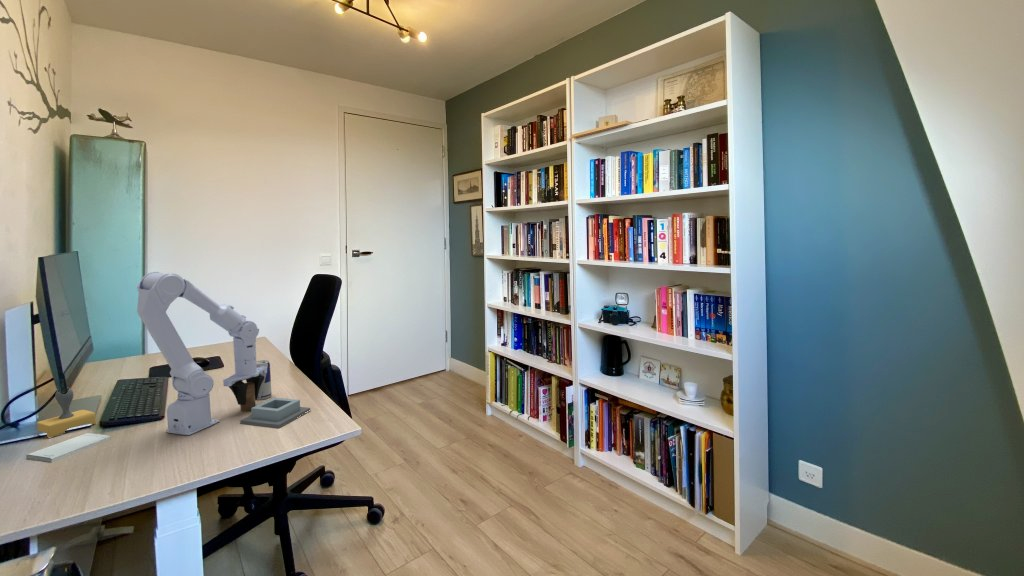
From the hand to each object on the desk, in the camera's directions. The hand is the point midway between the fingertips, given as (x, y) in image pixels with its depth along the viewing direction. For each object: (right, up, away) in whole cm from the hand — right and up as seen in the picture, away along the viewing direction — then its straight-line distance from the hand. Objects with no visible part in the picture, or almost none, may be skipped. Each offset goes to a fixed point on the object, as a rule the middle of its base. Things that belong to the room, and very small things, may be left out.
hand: (247, 401), depth 135 cm
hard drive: (-29, -6, -26) cm, 39 cm away
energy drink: (-2, -2, +11) cm, 11 cm away
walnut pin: (0, -2, 0) cm, 2 cm away
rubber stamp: (-40, -4, -15) cm, 43 cm away
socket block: (+12, -3, -6) cm, 14 cm away
